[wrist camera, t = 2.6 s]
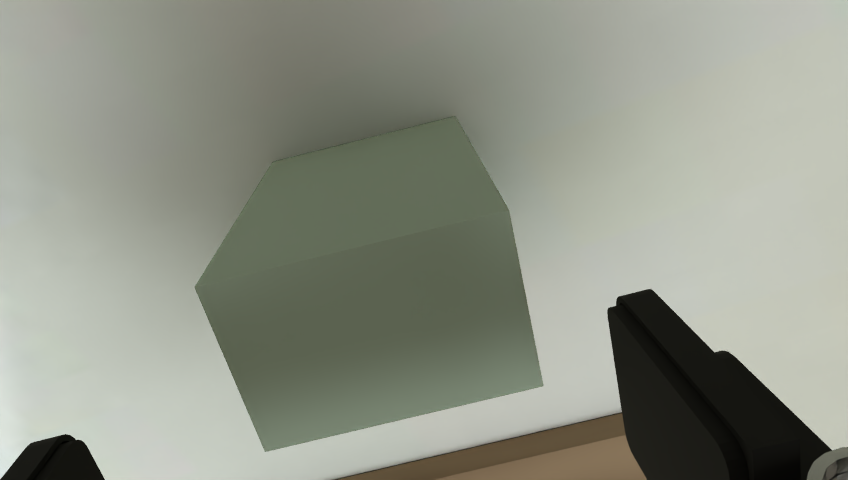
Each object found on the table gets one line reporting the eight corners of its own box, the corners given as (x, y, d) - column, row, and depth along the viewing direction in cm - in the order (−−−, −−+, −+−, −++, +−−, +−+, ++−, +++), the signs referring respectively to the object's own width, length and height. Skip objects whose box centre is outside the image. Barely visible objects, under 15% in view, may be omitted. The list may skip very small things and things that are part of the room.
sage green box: (272, 161, 20) (194, 287, 12) (455, 116, 20) (509, 209, 11) (314, 284, 22) (272, 469, 13) (482, 242, 21) (546, 405, 13)
